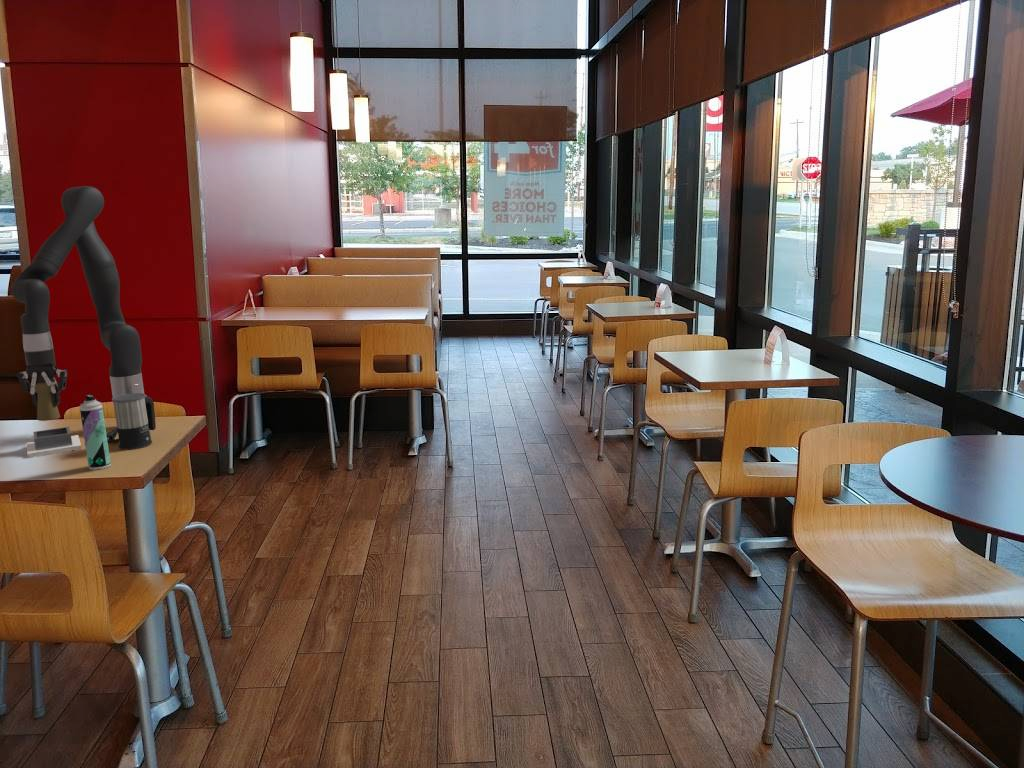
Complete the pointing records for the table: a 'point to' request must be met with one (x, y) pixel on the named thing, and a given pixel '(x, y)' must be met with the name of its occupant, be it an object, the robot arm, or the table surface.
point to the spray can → (94, 434)
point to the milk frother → (133, 421)
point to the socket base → (32, 451)
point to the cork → (45, 403)
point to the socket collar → (52, 438)
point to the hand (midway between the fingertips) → (47, 405)
